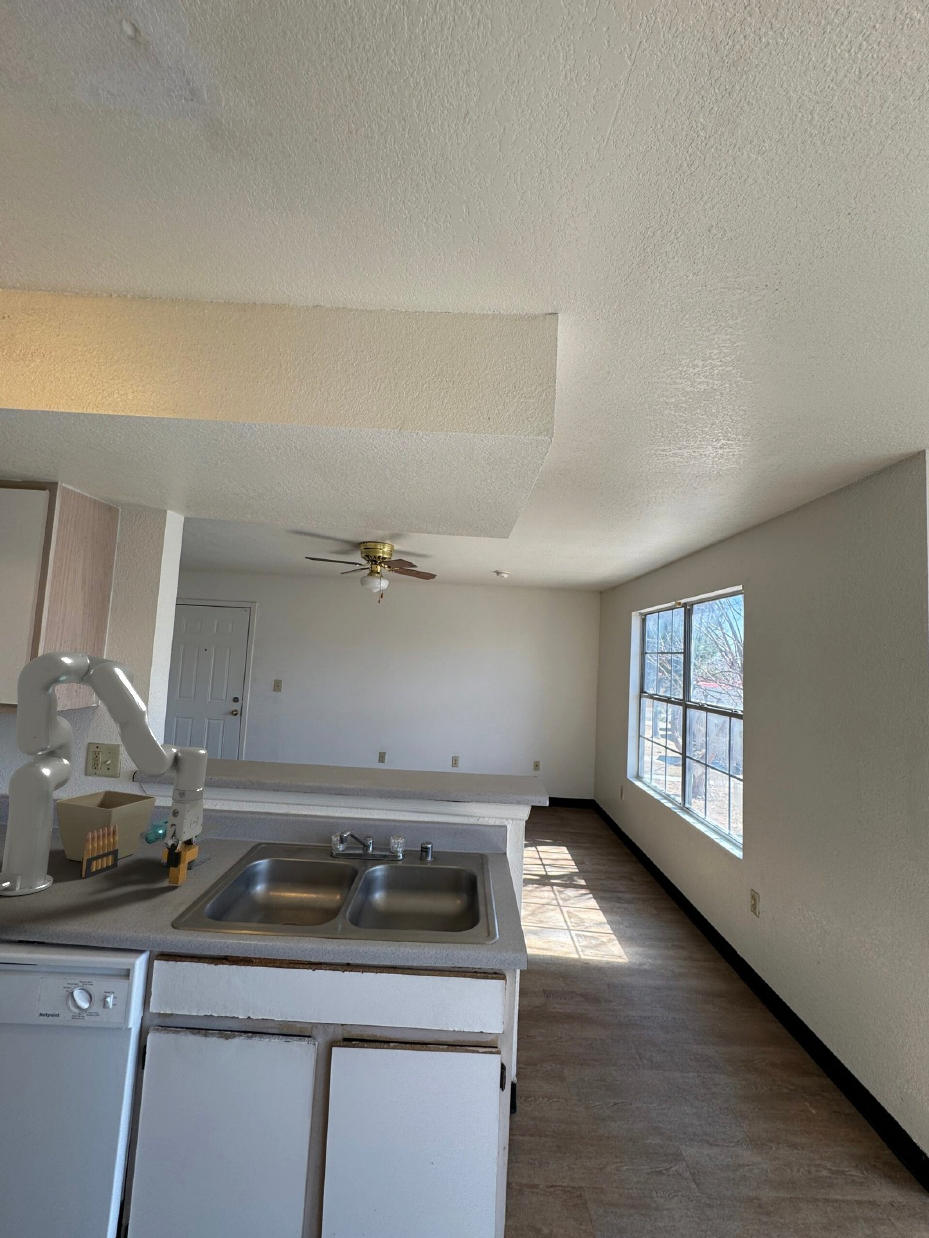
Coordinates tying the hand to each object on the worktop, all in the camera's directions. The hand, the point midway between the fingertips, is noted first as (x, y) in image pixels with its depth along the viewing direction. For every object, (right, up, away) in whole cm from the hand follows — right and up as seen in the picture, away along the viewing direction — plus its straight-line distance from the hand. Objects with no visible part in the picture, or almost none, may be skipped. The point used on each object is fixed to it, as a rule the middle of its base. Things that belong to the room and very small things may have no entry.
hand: (179, 862), depth 162 cm
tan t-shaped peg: (0, -5, 0) cm, 5 cm away
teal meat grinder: (-8, -7, +12) cm, 16 cm away
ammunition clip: (-25, -5, +6) cm, 26 cm away
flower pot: (-31, -6, +18) cm, 36 cm away
